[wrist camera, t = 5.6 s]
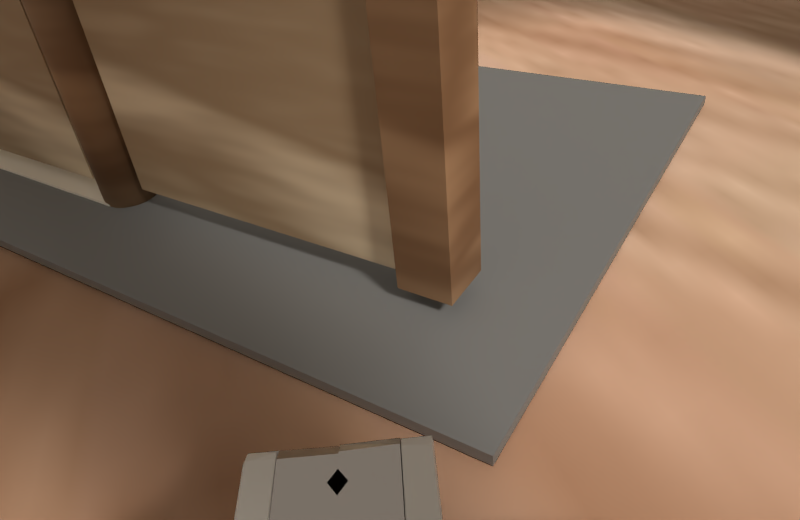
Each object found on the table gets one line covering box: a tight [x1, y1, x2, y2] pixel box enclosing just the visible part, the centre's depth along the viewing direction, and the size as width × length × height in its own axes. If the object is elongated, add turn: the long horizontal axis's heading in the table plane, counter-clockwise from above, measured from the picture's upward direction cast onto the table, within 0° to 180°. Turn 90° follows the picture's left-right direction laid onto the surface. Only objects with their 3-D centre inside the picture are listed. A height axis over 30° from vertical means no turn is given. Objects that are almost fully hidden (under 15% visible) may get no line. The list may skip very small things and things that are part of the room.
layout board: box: [0, 66, 706, 466], centre depth 33 cm, size 24×39×1 cm, turn 58°
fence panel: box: [73, 0, 481, 306], centre depth 21 cm, size 2×15×11 cm, turn 58°
